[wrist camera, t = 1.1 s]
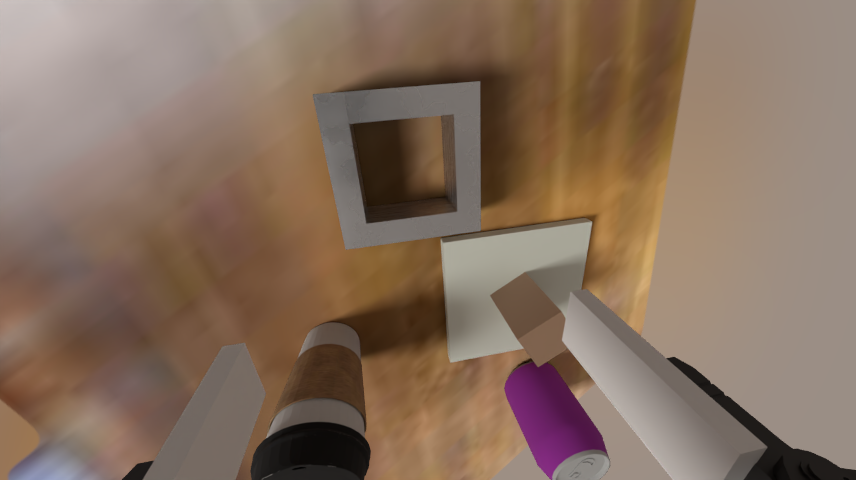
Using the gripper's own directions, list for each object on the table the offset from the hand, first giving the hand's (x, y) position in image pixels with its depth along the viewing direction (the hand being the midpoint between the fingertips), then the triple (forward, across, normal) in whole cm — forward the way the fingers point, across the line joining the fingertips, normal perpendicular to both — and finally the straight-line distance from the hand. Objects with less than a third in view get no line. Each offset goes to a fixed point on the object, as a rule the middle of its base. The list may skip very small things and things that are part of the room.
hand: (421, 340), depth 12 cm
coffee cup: (+18, -8, -15) cm, 25 cm away
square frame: (+18, +1, +4) cm, 19 cm away
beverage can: (+18, +16, -27) cm, 36 cm away
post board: (+18, +13, -12) cm, 25 cm away
